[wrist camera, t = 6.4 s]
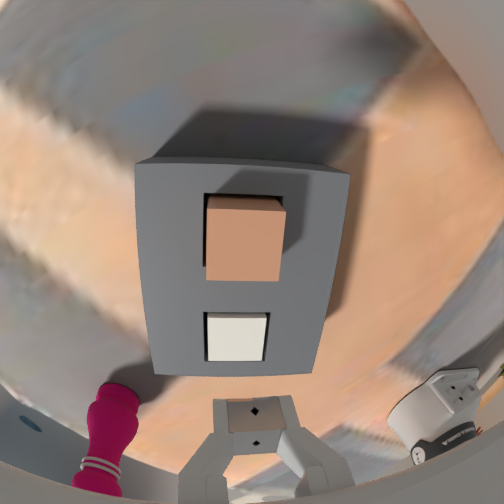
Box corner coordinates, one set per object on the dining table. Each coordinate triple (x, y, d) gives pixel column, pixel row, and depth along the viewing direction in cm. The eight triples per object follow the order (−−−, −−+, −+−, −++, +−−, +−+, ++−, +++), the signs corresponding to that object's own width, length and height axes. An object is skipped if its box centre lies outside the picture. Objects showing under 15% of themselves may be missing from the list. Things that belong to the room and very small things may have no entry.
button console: (325, 165, 27) (350, 174, 22) (298, 338, 35) (311, 373, 29) (152, 156, 25) (134, 163, 20) (162, 337, 33) (154, 374, 27)
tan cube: (273, 195, 24) (286, 211, 19) (267, 253, 26) (278, 281, 21) (209, 192, 23) (207, 208, 19) (208, 252, 25) (206, 280, 21)
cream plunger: (259, 289, 30) (266, 318, 25) (255, 329, 32) (261, 360, 27) (208, 288, 29) (207, 317, 25) (209, 329, 31) (208, 360, 27)
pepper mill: (127, 377, 35) (96, 511, 17) (151, 409, 38) (136, 531, 19) (86, 382, 35) (48, 500, 17) (112, 413, 38) (88, 523, 20)
